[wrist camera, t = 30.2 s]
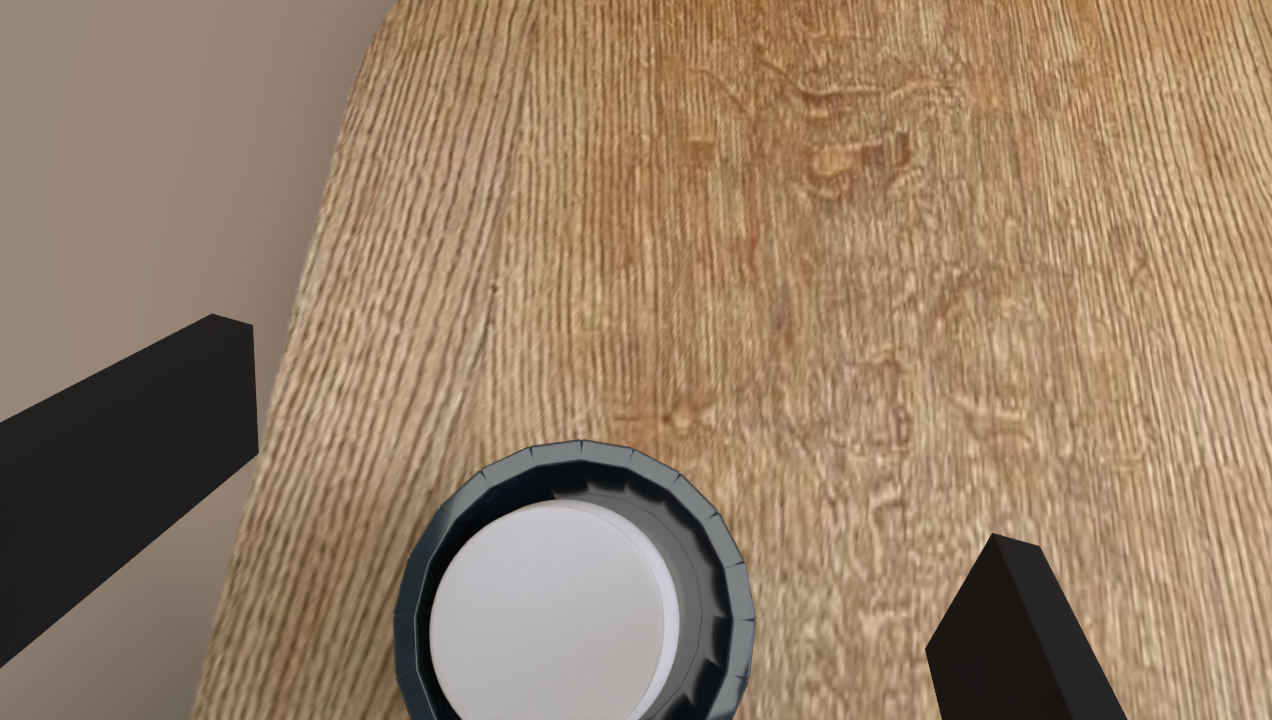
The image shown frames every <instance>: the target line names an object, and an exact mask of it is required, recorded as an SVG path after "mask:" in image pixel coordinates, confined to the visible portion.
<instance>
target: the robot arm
mask: <svg viewBox="0 0 1272 720" xmlns="http://www.w3.org/2000/svg"><path fill="white" fill-rule="evenodd" d="M256 405H257V404H256V383H255V361H254V339H253V325H251V324H247V323H244V322H240V321H237V320H233V319H229V318H226V317H222V316H219V315H215V314H211V315H208V316H206V317H204V318H202V319H200V320H199V321H197V322H195V323H193V324H191V325H189V326H187V327H185V328H183V329H181V330H179V331H177V332H175V333H173V334H171V335H170V336H167V337H166V338H164V339H162V340H160V341H158V342H156V343H154V344H152V345H150V346H148V347H147V348H144V349H142V350H141V351H139V352H136V353H134V354H133V355H131V356H129V357H127V358H125V359H123V360H121V361H119V362H117V363H115V364H113V365H111V366H109V367H107V368H105V369H103V370H102V371H99V372H98V373H96V374H94V375H92V376H90V377H88V378H86V379H84V380H82V381H80V382H78V383H76V384H74V385H72V386H70V387H69V388H67V389H65V390H63V391H61V392H59V393H57V394H55V395H53V396H51V397H49V398H47V399H45V400H43V401H41V402H40V403H37V404H35V405H34V406H32V407H30V408H28V409H26V410H24V411H22V412H20V413H18V414H16V415H14V416H12V417H10V418H8V419H7V420H4V421H2V422H0V668H1V667H2V666H4V665H5V664H6V663H7V662H9V661H10V660H11V659H12V658H13V657H14V656H16V655H17V654H18V653H19V652H21V651H22V650H23V649H24V648H25V647H26V646H28V645H29V644H30V643H31V642H33V641H34V640H35V639H36V638H37V637H39V636H40V635H41V634H42V633H43V632H45V631H46V630H47V629H48V628H49V627H50V626H52V625H53V624H54V623H55V622H57V621H58V620H59V619H60V618H61V617H63V616H64V615H65V614H66V613H67V612H69V611H70V610H71V609H72V608H73V607H75V606H76V605H77V604H78V603H79V602H81V601H82V600H83V599H84V598H85V597H87V596H88V595H89V594H90V593H92V592H93V591H94V590H95V589H96V588H97V587H99V586H100V585H101V584H102V583H104V582H105V581H106V580H107V579H108V578H109V577H111V576H112V575H113V574H114V573H116V572H117V571H118V570H119V569H120V568H121V567H123V566H124V565H125V564H126V563H127V562H129V561H130V560H131V559H132V558H133V557H135V556H136V555H137V554H138V553H139V552H141V551H142V550H143V549H144V548H146V547H147V546H148V545H149V544H150V543H151V542H153V541H154V540H155V539H156V538H158V537H159V536H160V535H161V534H162V533H164V532H165V531H166V530H167V529H168V528H170V527H171V526H172V525H173V524H174V523H176V522H177V521H178V520H179V519H180V518H182V517H183V516H184V515H185V514H186V513H188V512H189V511H190V510H191V509H192V508H194V506H196V505H197V504H198V503H200V502H201V501H202V500H203V499H204V498H206V497H207V496H208V495H209V494H210V493H212V492H213V491H214V490H215V489H216V488H218V487H219V486H220V485H221V484H222V483H224V482H225V481H226V480H227V479H228V478H230V477H231V476H232V475H233V474H235V473H236V472H237V471H238V470H239V469H240V468H242V467H243V466H244V465H245V464H247V463H248V462H249V461H250V460H251V459H253V458H254V457H255V456H256V455H257V454H259V448H258V426H257V406H256ZM925 651H926V655H927V659H928V664H929V668H930V672H931V676H932V680H933V684H934V689H935V693H936V697H937V701H938V705H939V709H940V714H941V718H942V720H1127V718H1126V716H1125V714H1124V712H1123V710H1122V708H1121V706H1120V704H1119V702H1118V700H1117V698H1116V696H1115V694H1114V692H1113V690H1112V688H1111V686H1110V684H1109V682H1108V680H1107V678H1106V676H1105V674H1104V672H1103V670H1102V668H1101V666H1100V664H1099V662H1098V660H1097V658H1096V656H1095V654H1094V652H1093V650H1092V649H1091V647H1090V645H1089V643H1088V641H1087V639H1086V637H1085V635H1084V633H1083V631H1082V629H1081V627H1080V625H1079V623H1078V621H1077V619H1076V617H1075V615H1074V613H1073V611H1072V609H1071V607H1070V605H1069V603H1068V601H1067V599H1066V597H1065V595H1064V593H1063V591H1062V589H1061V587H1060V585H1059V583H1058V581H1057V579H1056V577H1055V575H1054V573H1053V572H1052V570H1051V568H1050V566H1049V564H1048V562H1047V560H1046V558H1045V556H1044V554H1043V552H1042V550H1041V548H1040V546H1037V545H1033V544H1030V543H1026V542H1023V541H1019V540H1016V539H1012V538H1008V537H1005V536H1001V535H998V534H994V533H992V534H991V536H990V538H989V540H988V541H987V543H986V545H985V546H984V548H983V550H982V552H981V553H980V555H979V557H978V559H977V560H976V562H975V564H974V565H973V567H972V569H971V571H970V572H969V574H968V576H967V577H966V579H965V581H964V583H963V584H962V586H961V588H960V590H959V591H958V593H957V595H956V596H955V598H954V600H953V602H952V603H951V605H950V607H949V608H948V610H947V612H946V614H945V615H944V617H943V619H942V621H941V622H940V624H939V626H938V627H937V629H936V631H935V633H934V634H933V636H932V638H931V639H930V641H929V643H928V645H927V646H926V648H925Z"/></svg>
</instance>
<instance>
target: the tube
mask: <svg viewBox="0 0 1272 720" xmlns="http://www.w3.org/2000/svg"><path fill="white" fill-rule="evenodd" d="M549 500H577V501H584V502H588V503H592V504H596V505H600V506H603V507H606V508H608V509H610V510H612V511H614V512H615V513H617V514H619V515H621V516H622V517H624V518H625V519H627V520H628V521H630V522H631V523H632V524H634V525H635V526H636V527H637V528H638V529H639V530H641V531H642V532H643V533H644V534H645V535H646V536H647V537H648V538H649V540H650V541H651V542H652V543H653V545H654V546H655V547H656V549H657V550H658V552H659V553H660V554H661V556H662V558H663V559H664V561H665V563H666V566H667V568H668V569H669V571H670V573H671V576H672V579H673V583H674V586H675V590H676V594H677V600H678V607H679V637H678V645H677V650H676V654H675V659H674V662H673V665H672V668H671V671H670V673H669V675H668V678H667V680H666V682H665V684H664V686H663V688H662V690H661V692H660V693H659V695H658V696H657V698H656V699H655V701H654V702H653V704H652V705H651V706H650V707H649V709H648V710H647V711H646V712H645V713H644V714H643V715H642V716H641V718H640V719H638V720H733V717H734V715H735V713H736V711H737V708H738V706H739V704H740V701H741V699H742V697H743V694H744V692H745V690H746V687H747V685H748V680H749V678H750V670H751V661H752V652H753V643H754V634H755V625H756V622H755V619H756V616H755V611H754V605H753V600H752V595H751V589H750V584H749V579H748V573H747V568H746V564H745V562H744V558H743V556H742V554H741V553H740V551H739V549H738V547H737V545H736V543H735V541H734V539H733V537H732V535H731V533H730V531H729V529H728V528H727V526H726V524H725V522H724V520H723V518H722V516H721V514H720V513H719V512H718V511H717V509H716V508H715V507H714V506H713V505H712V504H711V503H710V502H709V501H708V500H707V499H706V498H705V497H704V496H703V495H702V494H701V493H700V492H699V491H698V490H697V489H696V488H695V487H694V486H693V485H692V484H691V483H690V482H689V481H688V479H687V478H686V477H685V476H684V475H682V474H680V473H679V471H677V470H675V469H673V468H671V467H669V466H667V465H665V464H663V463H662V462H660V461H658V460H656V459H654V458H652V457H650V456H648V455H646V454H644V453H642V452H641V451H639V450H637V449H633V448H631V447H626V446H620V445H614V444H608V443H603V442H597V441H591V440H585V439H583V440H580V439H578V440H571V441H564V442H556V443H549V444H542V445H535V446H531V447H526V448H524V449H522V450H520V451H518V452H516V453H514V454H511V455H509V456H507V457H505V458H503V459H501V460H499V461H497V462H494V463H492V464H490V465H488V466H486V467H484V468H482V469H481V471H478V472H477V473H476V474H475V475H474V476H472V477H471V478H470V479H469V480H468V481H467V482H466V483H465V484H464V485H462V486H461V487H460V488H459V489H458V490H457V491H456V492H455V493H454V494H453V495H451V496H450V497H449V498H448V499H447V500H446V501H445V502H444V503H443V504H441V506H440V508H439V509H437V511H436V512H435V514H434V515H433V517H432V519H431V520H430V522H429V524H428V525H427V527H426V529H425V530H424V532H423V534H422V535H421V537H420V539H419V540H418V542H417V543H416V545H415V547H414V548H413V550H412V552H411V553H410V556H409V557H410V558H408V559H407V563H406V567H405V571H404V574H403V578H402V582H401V586H400V590H399V593H398V597H397V601H396V605H395V609H394V612H393V614H394V615H395V616H394V617H393V633H394V660H395V675H396V676H397V677H396V681H397V683H398V686H399V689H400V692H401V695H402V697H403V700H404V703H405V706H406V709H407V711H408V714H409V717H410V720H462V719H461V718H460V717H459V715H458V714H457V713H456V712H455V710H454V709H453V708H452V706H451V705H450V703H449V701H448V700H447V698H446V696H445V695H444V693H443V691H442V689H441V686H440V684H439V682H438V679H437V676H436V673H435V670H434V666H433V662H432V656H431V650H430V619H431V611H432V607H433V603H434V599H435V596H436V592H437V589H438V587H439V584H440V582H441V580H442V577H443V575H444V573H445V571H446V570H447V568H448V566H449V564H450V563H451V561H452V560H453V558H454V557H455V555H456V554H457V553H458V552H459V550H460V549H461V548H462V547H463V546H464V545H465V544H466V542H467V541H468V540H469V539H471V538H472V537H473V536H474V535H475V534H476V533H477V532H479V531H480V530H481V529H482V528H484V527H485V526H487V525H488V524H490V523H491V522H493V521H495V520H497V519H499V518H500V517H502V516H504V515H507V514H509V513H511V512H513V511H515V510H517V509H520V508H522V507H524V506H528V505H531V504H534V503H538V502H543V501H549Z"/></svg>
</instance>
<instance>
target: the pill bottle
mask: <svg viewBox="0 0 1272 720" xmlns="http://www.w3.org/2000/svg"><path fill="white" fill-rule="evenodd" d="M678 637H679V607H678V600H677V594H676V590H675V586H674V583H673V579H672V576H671V573H670V571H669V569H668V568H667V566H666V563H665V561H664V559H663V558H662V556H661V554H660V553H659V552H658V550H657V549H656V547H655V546H654V545H653V543H652V542H651V541H650V540H649V538H648V537H647V536H646V535H645V534H644V533H643V532H642V531H641V530H639V529H638V528H637V527H636V526H635V525H634V524H632V523H631V522H630V521H628V520H627V519H625V518H624V517H622V516H621V515H619V514H617V513H615V512H614V511H612V510H610V509H608V508H606V507H603V506H600V505H596V504H592V503H588V502H584V501H577V500H549V501H543V502H538V503H534V504H531V505H528V506H524V507H522V508H520V509H517V510H515V511H513V512H511V513H509V514H507V515H504V516H502V517H500V518H499V519H497V520H495V521H493V522H491V523H490V524H488V525H487V526H485V527H484V528H482V529H481V530H480V531H479V532H477V533H476V534H475V535H474V536H473V537H472V538H471V539H469V540H468V541H467V542H466V544H465V545H464V546H463V547H462V548H461V549H460V550H459V552H458V553H457V554H456V555H455V557H454V558H453V560H452V561H451V563H450V564H449V566H448V568H447V570H446V571H445V573H444V575H443V577H442V580H441V582H440V584H439V587H438V589H437V592H436V596H435V599H434V603H433V607H432V611H431V619H430V650H431V656H432V662H433V666H434V670H435V673H436V676H437V679H438V682H439V684H440V686H441V689H442V691H443V693H444V695H445V696H446V698H447V700H448V701H449V703H450V705H451V706H452V708H453V709H454V710H455V712H456V713H457V714H458V715H459V717H460V718H461V719H462V720H638V719H640V718H641V716H642V715H643V714H644V713H645V712H646V711H647V710H648V709H649V707H650V706H651V705H652V704H653V702H654V701H655V699H656V698H657V696H658V695H659V693H660V692H661V690H662V688H663V686H664V684H665V682H666V680H667V678H668V675H669V673H670V671H671V668H672V665H673V662H674V659H675V654H676V650H677V645H678Z"/></svg>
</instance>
